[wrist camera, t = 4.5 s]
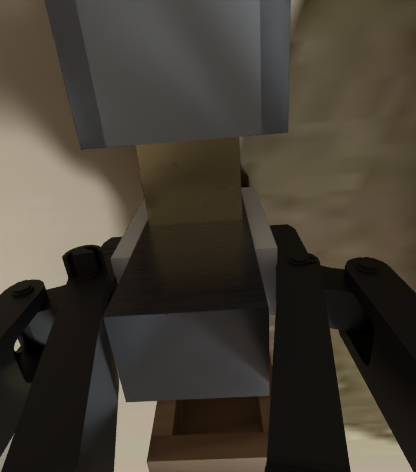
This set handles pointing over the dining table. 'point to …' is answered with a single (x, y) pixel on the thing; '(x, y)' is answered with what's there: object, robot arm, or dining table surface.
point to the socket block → (211, 434)
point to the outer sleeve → (173, 68)
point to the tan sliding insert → (191, 282)
